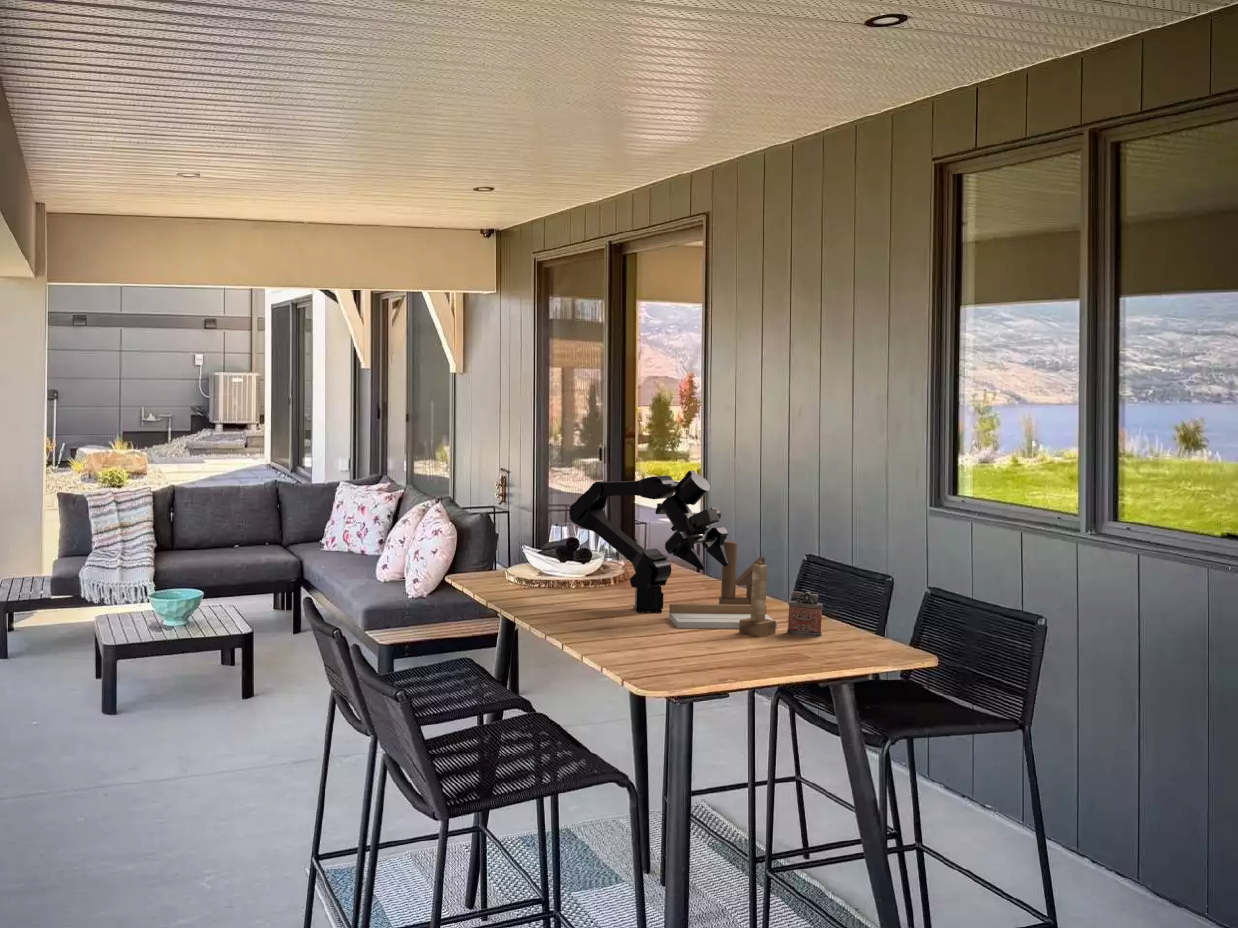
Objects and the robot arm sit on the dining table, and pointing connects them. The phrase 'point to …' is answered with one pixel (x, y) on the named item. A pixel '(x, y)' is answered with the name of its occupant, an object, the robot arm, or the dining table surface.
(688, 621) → the board
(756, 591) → the wooden post on base
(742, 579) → the brown wooden block structure
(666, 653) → the dining table surface
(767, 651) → the dining table surface
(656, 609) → the robot arm
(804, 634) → the lighter
